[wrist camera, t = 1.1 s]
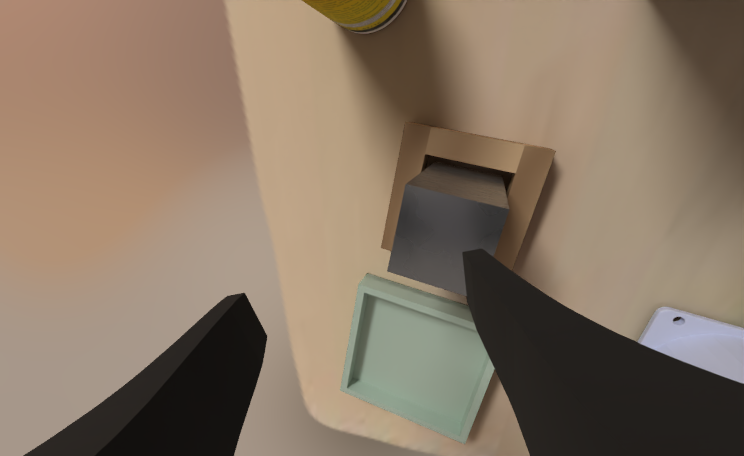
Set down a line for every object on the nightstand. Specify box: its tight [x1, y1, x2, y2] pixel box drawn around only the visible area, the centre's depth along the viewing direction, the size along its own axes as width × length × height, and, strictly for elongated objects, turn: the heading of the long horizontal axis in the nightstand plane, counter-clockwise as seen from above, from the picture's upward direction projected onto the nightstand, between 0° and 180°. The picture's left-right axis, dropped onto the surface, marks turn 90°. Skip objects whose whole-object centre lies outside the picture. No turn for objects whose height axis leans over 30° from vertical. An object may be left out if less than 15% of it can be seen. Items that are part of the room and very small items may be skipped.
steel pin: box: [387, 162, 509, 296], centre depth 17 cm, size 4×4×8 cm
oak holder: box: [381, 122, 556, 271], centre depth 20 cm, size 8×8×2 cm
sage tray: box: [340, 273, 495, 444], centre depth 24 cm, size 10×10×2 cm
